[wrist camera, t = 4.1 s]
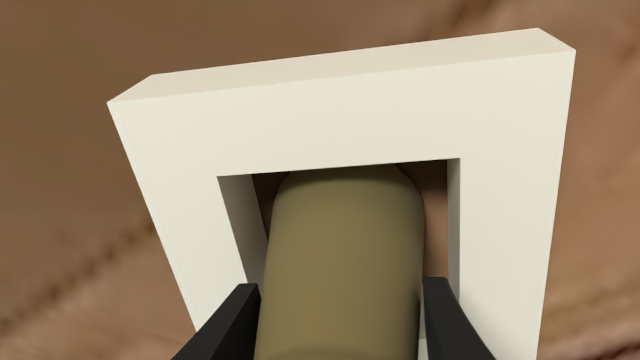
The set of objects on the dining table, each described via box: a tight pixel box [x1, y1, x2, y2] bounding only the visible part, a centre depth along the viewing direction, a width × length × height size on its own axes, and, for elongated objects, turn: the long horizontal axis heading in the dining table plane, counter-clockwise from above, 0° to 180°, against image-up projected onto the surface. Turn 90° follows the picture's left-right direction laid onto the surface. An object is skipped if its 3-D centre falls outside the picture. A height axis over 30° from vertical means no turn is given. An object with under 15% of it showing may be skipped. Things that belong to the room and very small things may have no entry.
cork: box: [254, 163, 425, 360], centre depth 13 cm, size 6×6×11 cm
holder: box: [107, 28, 576, 360], centre depth 16 cm, size 13×13×3 cm
